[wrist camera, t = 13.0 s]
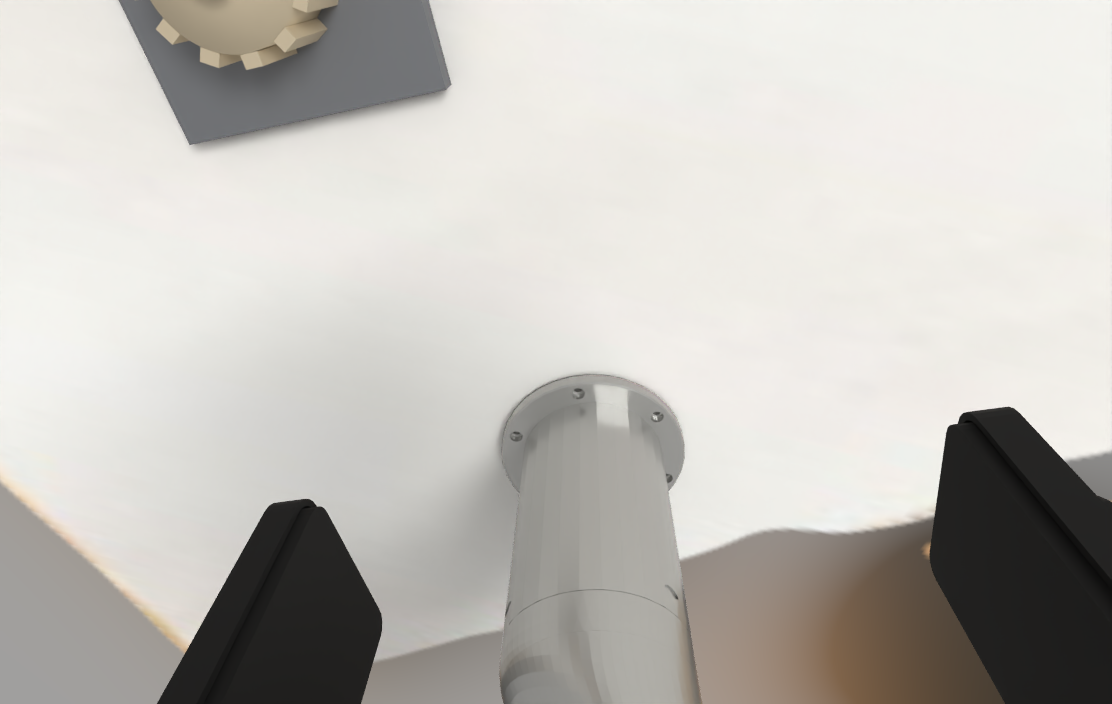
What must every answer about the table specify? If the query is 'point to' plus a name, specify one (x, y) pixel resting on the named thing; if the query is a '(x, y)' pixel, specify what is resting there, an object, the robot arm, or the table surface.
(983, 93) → the table surface
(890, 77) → the table surface
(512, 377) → the table surface
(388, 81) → the gear board
